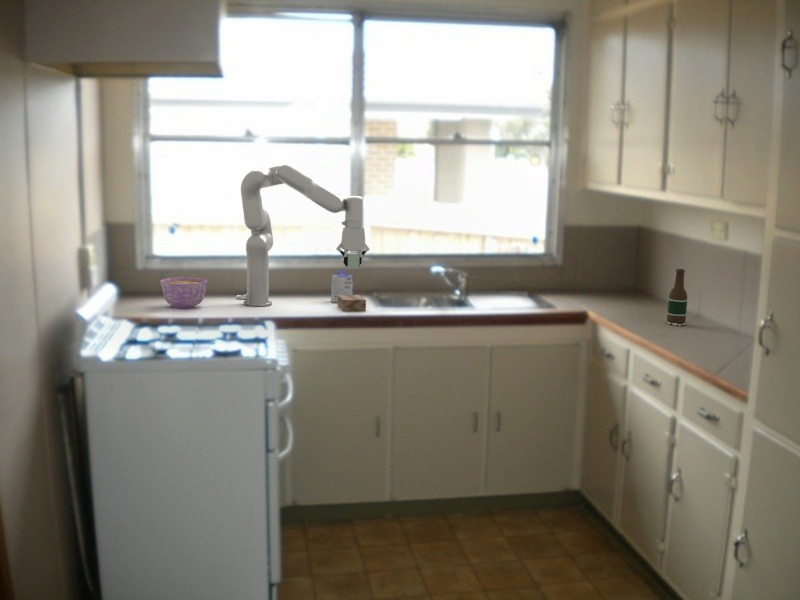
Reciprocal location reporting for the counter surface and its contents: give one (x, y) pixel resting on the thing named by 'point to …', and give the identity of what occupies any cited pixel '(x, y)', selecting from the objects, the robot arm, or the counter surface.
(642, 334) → the counter surface
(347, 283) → the ink cartridge box
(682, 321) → the beer bottle
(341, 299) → the brown wooden block
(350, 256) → the pale green block
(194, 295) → the bowl of food
